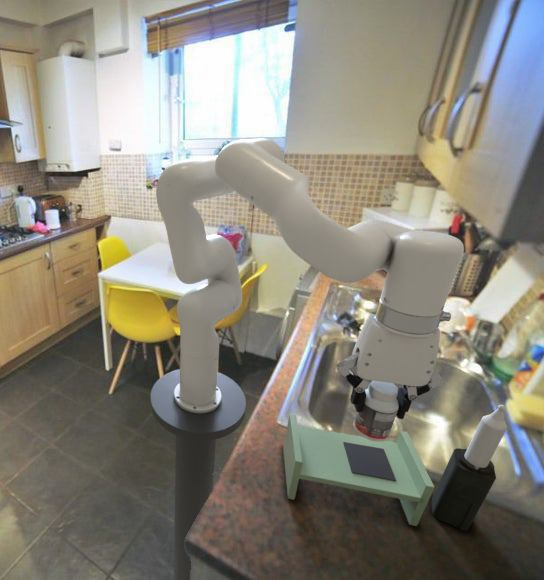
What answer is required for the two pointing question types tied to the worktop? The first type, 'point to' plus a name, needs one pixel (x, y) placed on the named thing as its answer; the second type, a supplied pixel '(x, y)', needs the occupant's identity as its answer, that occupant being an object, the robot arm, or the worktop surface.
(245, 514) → the worktop surface
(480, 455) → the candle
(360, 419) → the pill bottle
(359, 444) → the shelf
